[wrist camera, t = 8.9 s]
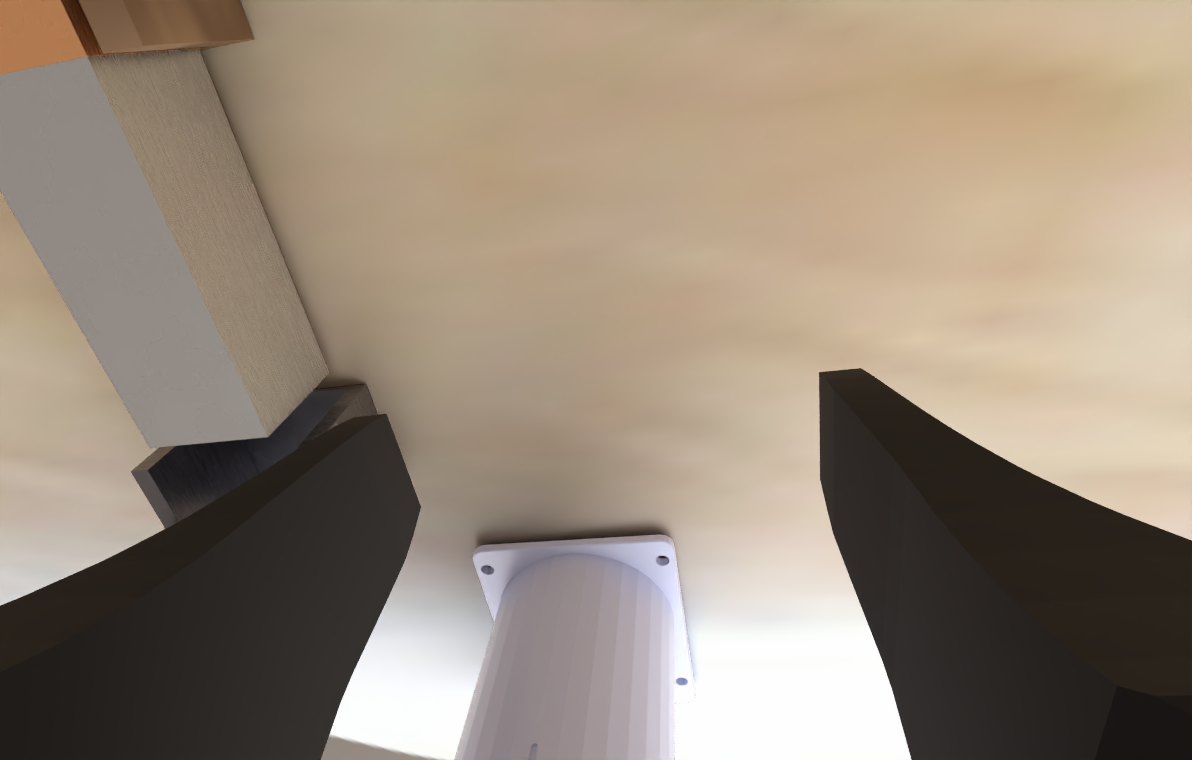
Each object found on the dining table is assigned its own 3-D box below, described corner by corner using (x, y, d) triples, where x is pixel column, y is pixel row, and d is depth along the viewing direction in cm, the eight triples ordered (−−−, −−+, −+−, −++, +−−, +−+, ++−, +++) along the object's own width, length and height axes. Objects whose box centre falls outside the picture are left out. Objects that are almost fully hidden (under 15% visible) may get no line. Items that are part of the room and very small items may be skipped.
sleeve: (404, 485, 25) (343, 592, 21) (264, 496, 26) (176, 600, 22) (366, 383, 23) (289, 477, 19) (215, 399, 24) (106, 492, 20)
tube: (331, 372, 23) (268, 437, 19) (226, 383, 24) (147, 449, 20) (171, -28, 17) (42, -39, 14) (40, 2, 18) (-116, 0, 14)
